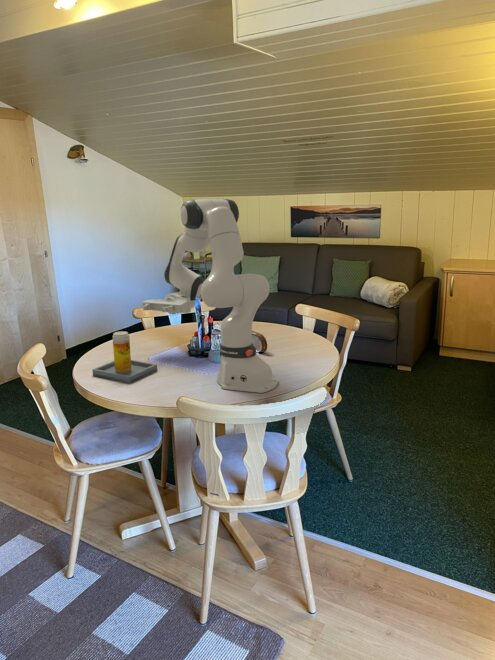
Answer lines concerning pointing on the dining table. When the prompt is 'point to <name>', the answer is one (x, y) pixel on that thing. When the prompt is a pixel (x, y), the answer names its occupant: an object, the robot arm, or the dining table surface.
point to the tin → (259, 341)
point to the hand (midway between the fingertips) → (153, 309)
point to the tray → (134, 374)
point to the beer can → (122, 352)
